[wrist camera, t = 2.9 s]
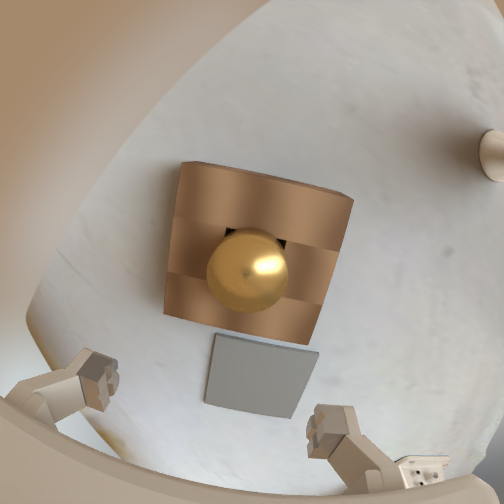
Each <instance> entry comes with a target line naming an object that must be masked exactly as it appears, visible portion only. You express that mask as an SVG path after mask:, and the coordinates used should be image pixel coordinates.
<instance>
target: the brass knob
mask: <svg viewBox="0 0 504 504" xmlns="http://www.w3.org/2000/svg"><path fill="white" fill-rule="evenodd" d="M207 282H208V285H209V288H210V290H211V292H212V294H213V295H214V297H215V298H216V299H217V300H218V301H219V302H220V303H221V304H223V305H224V306H226V307H227V308H229V309H231V310H234V311H237V312H242V313H256V312H260V311H263V310H266V309H268V308H270V307H271V306H273V305H274V304H275V303H277V302H278V301H279V300H280V298H281V297H282V296H283V294H284V292H285V290H286V287H287V283H288V269H287V260H286V254H285V251H284V249H283V247H282V245H281V243H280V242H279V241H278V240H277V239H276V238H275V237H274V236H273V235H272V234H270V233H268V232H267V231H264V230H262V229H258V228H241V229H237V230H235V231H233V232H231V233H229V234H228V235H226V236H225V237H224V238H223V239H222V240H221V242H220V243H219V245H218V246H217V248H216V249H215V251H214V253H213V254H212V256H211V258H210V260H209V262H208V266H207Z"/></svg>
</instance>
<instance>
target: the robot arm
mask: <svg viewBox="0 0 504 504" xmlns="http://www.w3.org/2000/svg"><path fill="white" fill-rule="evenodd" d="M117 368H118V362H117V360H116V359H113V358H111V357H108V356H105V355H103V354H100V353H98V352H95V351H92V350H90V349H88V348H84V349H82V350H81V351H80V352H79V354H78V355H77V356H76V357H75V358H74V359H73V361H72V362H71V363H70V364H69V365H68V367H67V368H66V369H63V368H62V369H58V370H55V371H52V372H49V373H46V374H43V375H40V376H37V377H33V378H30V379H26V380H23V381H20V382H18V383H17V385H16V386H15V387H14V388H13V389H12V390H11V391H10V392H9V394H8V395H7V396H6V397H5V398H3V397H1V396H0V504H500V503H499V500H498V497H497V495H496V493H495V491H494V489H493V488H492V487H491V486H489V485H488V484H487V483H485V482H484V481H482V480H481V479H480V478H478V477H477V476H475V475H472V474H468V475H463V476H460V477H456V478H453V479H449V480H445V481H444V473H443V470H444V469H445V468H446V466H447V465H448V463H449V461H450V458H449V456H407V457H404V458H402V459H401V460H399V461H397V462H395V463H394V462H393V461H392V460H391V459H390V458H389V457H388V456H386V455H385V454H384V453H383V452H382V451H381V450H380V449H379V448H378V447H377V446H376V445H374V444H373V443H372V442H371V441H370V440H369V439H368V438H367V437H366V436H365V435H361V432H360V428H359V425H358V421H357V417H356V413H355V410H354V407H353V406H340V405H327V404H317V405H316V407H315V409H314V415H312V416H310V418H309V420H308V423H307V427H306V437H307V438H308V439H309V443H308V445H307V451H308V458H316V459H328V462H329V463H330V464H331V466H332V467H333V468H334V470H335V471H336V472H337V474H338V475H339V476H340V478H341V479H342V480H343V482H344V483H345V484H346V486H347V487H348V488H349V489H348V490H347V491H346V492H345V493H344V494H343V495H335V496H303V495H282V494H269V493H259V492H251V491H243V490H236V489H230V488H224V487H218V486H213V485H208V484H203V483H198V482H194V481H189V480H185V479H181V478H177V477H173V476H170V475H166V474H163V473H159V472H156V471H153V470H149V469H146V468H143V467H140V466H137V465H134V464H131V463H129V462H126V461H123V460H120V459H118V458H115V457H113V456H110V455H108V454H105V453H103V452H100V451H98V450H96V449H93V448H91V447H89V446H87V445H85V444H82V443H80V442H78V441H76V440H74V439H72V438H70V437H68V436H66V435H64V434H62V433H60V432H58V430H57V427H56V425H55V423H56V422H58V421H60V420H61V419H63V418H65V417H67V416H69V415H71V414H73V413H75V412H77V411H78V410H80V409H82V408H84V407H86V406H89V407H91V408H94V409H96V410H99V411H102V412H104V411H105V409H106V408H107V406H108V404H109V403H110V399H109V397H110V396H112V395H114V394H115V392H116V391H117V388H118V385H119V374H118V372H117V371H116V369H117Z"/></svg>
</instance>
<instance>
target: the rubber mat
mask: <svg viewBox="0 0 504 504" xmlns="http://www.w3.org/2000/svg"><path fill="white" fill-rule="evenodd" d="M318 357H319V352H312V351H306V350H300V349H294V348H289V347H283V346H278V345H272V344H267V343H262V342H257V341H252V340H247V339H243V338H238V337H233V336H229V335H224V334H220V333H217V334H216V339H215V345H214V350H213V356H212V362H211V368H210V374H209V379H208V385H207V391H206V397H205V403H206V404H210V405H214V406H219V407H224V408H228V409H233V410H238V411H244V412H249V413H255V414H261V415H267V416H274V417H281V418H288V419H291V417H292V415H293V413H294V411H295V409H296V407H297V404H298V402H299V400H300V398H301V396H302V394H303V391H304V389H305V387H306V385H307V383H308V380H309V378H310V376H311V373H312V371H313V369H314V366H315V364H316V362H317V359H318Z"/></svg>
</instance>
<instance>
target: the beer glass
mask: <svg viewBox="0 0 504 504" xmlns="http://www.w3.org/2000/svg"><path fill="white" fill-rule="evenodd" d="M479 157H480V163H481V166H482V168H483V171H484V172H485V174H486V175H487V176H488V177H489V178H490V179H491V180H493V181H496V182H504V132H501V131H497V130H490V131H488V132H486V133H485V134H484V136H483V137H482V139H481V142H480V147H479Z"/></svg>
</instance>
